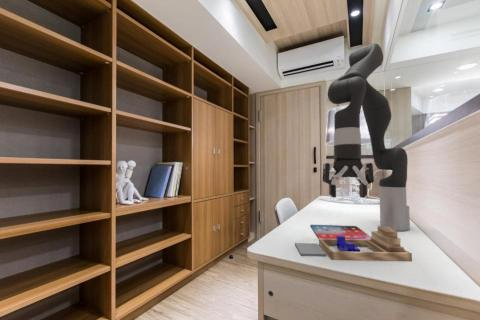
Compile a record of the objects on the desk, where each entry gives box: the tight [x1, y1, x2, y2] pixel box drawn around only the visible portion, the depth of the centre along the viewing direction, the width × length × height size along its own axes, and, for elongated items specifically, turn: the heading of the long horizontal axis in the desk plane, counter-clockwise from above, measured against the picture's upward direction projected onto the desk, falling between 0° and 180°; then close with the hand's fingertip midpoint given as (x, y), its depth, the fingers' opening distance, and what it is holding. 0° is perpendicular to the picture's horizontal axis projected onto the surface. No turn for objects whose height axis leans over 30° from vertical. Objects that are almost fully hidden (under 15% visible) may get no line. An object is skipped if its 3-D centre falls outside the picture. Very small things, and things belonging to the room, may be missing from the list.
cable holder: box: [336, 235, 361, 252], centre depth 67 cm, size 8×4×4 cm, turn 178°
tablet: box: [310, 224, 371, 249], centre depth 83 cm, size 19×25×1 cm
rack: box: [318, 239, 413, 262], centre depth 67 cm, size 21×12×2 cm, turn 87°
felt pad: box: [294, 242, 327, 257], centre depth 68 cm, size 7×9×1 cm
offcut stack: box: [370, 226, 405, 252], centre depth 66 cm, size 5×9×6 cm, turn 177°
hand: (347, 197), depth 67 cm, fingers open, 8 cm apart
